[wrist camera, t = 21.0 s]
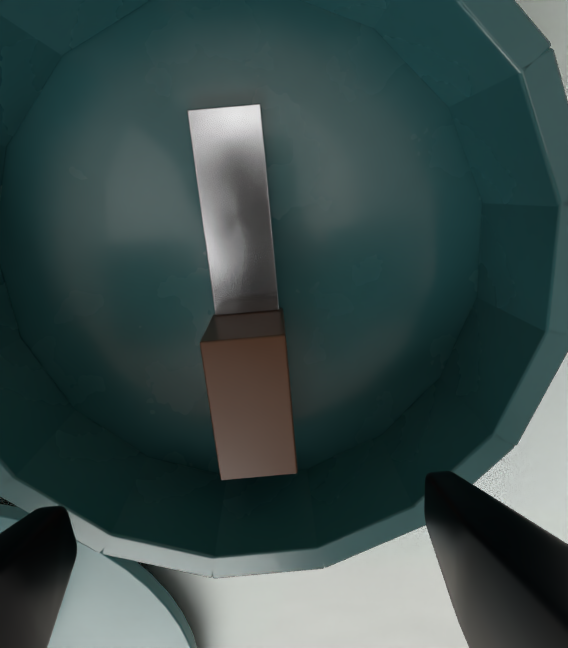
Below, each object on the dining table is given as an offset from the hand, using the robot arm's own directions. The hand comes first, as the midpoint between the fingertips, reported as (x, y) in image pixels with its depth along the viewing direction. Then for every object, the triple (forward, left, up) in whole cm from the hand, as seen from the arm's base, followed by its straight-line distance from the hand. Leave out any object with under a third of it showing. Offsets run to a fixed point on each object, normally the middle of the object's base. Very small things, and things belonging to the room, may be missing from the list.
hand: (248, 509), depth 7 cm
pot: (-3, 0, -6) cm, 7 cm away
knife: (-3, 0, -6) cm, 6 cm away
